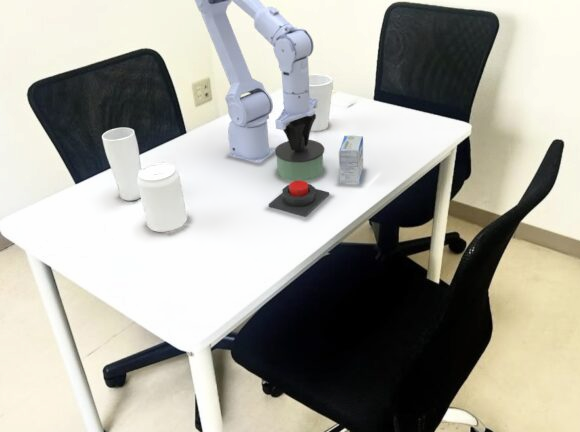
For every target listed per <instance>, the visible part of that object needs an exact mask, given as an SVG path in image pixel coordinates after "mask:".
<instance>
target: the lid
mask: <svg viewBox="0 0 580 432" xmlns="http://www.w3.org/2000/svg"><path fill="white" fill-rule="evenodd" d="M274 149H275V152H274V154H275V156H276V158H277V157H278V158H279V159H281V160H284V161H288V162H307V161H312V160H315V159H317V158H319V157H320V156H322V155H323V156H324V153H325V146H324V145H323V144H322V143H321V142H319V141H318V140H317V141H316V140H312V139H309V140H308V144H307V146H305V141H304V135H303V134H302V141H301V150H300V151H294V150H291V147H290V144H289V141H288V140H287V141H284V142H282V143H280V144H278V145H277V146H276V147H275V148H274Z"/></svg>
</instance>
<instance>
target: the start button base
mask: <svg viewBox="0 0 580 432" xmlns="http://www.w3.org/2000/svg"><path fill="white" fill-rule="evenodd" d="M329 196H330V192H329V191H325V190H322V189H318V188H316V187H315V186H313V185H312V184H309V183H308V194H307V195H304V196H293V195H290V193H289V184H287V185H286V186H285V187H284V188H282V192H281V193H280V194H279V195H278V196H276V197H275V198H274V199H272V201H270V202H269V203H268V208H271V209H275V210H279V211H282V212H286V213H289V214H293V215H297V216H300V217H304V218H307V217H308V216H309V215H310V214H311V213H312V212H313V211H314V210H315V209H317V207H318V206H320V205H321V203H323V202H324V200H326V199H327V198H328V197H329Z"/></svg>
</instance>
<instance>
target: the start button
mask: <svg viewBox="0 0 580 432" xmlns="http://www.w3.org/2000/svg"><path fill="white" fill-rule="evenodd" d="M308 184H309V183H308V182H307V181H291V182H290V183H289V184H288V185H289V193H290V195H293V196H304V195H307V194H308Z"/></svg>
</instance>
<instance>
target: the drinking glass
mask: <svg viewBox="0 0 580 432" xmlns="http://www.w3.org/2000/svg"><path fill="white" fill-rule="evenodd" d="M101 140H102V145H103V148H104V153H105V156H106V158H107V162H108V164H109V166H110V170H111V172H112V175H113V178H114V180H115V183H116V186H117V189H118V193H119V197H120V198H121V199H122V200H123V201H129V202H130V201H131V202H132V201H136V200H139V199H141V197H140V192H139V188H138V184H137V178H138V172H139V171H140V170H141V169H142V164H141V157H140V148H139V144H138V139H137V136H136V133H135V129H133V128H130V127H115V128H112V129H109V130H107V131H105V132H103V134H102V135H101Z"/></svg>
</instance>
